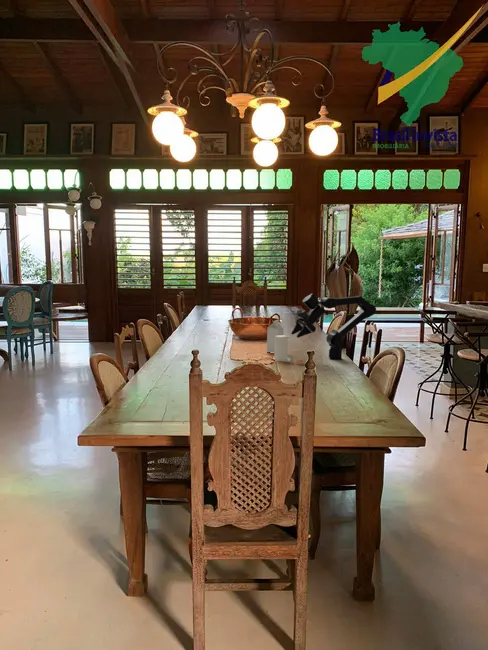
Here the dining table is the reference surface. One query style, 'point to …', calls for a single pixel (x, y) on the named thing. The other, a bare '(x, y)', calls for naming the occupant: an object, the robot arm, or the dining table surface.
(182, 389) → the dining table surface
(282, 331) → the milk carton
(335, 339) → the robot arm
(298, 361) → the bowl
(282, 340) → the white cylinder
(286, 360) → the mat
